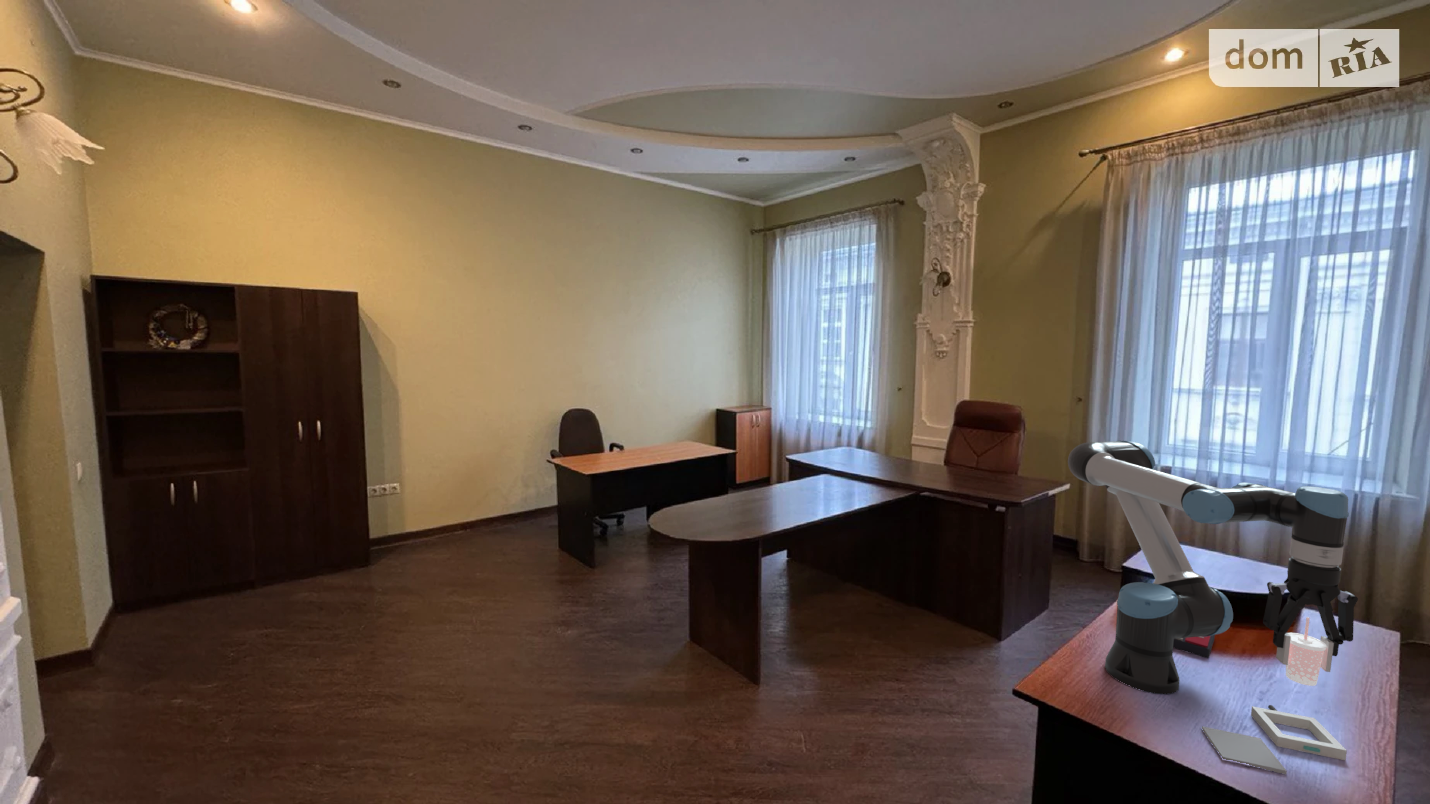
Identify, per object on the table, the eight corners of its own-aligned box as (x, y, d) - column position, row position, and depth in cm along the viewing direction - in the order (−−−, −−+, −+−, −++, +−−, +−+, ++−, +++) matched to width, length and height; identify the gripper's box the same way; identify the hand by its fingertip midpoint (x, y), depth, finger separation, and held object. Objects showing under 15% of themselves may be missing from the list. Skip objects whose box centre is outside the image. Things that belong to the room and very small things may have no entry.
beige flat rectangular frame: (1277, 747, 118) (1278, 737, 117) (1241, 703, 132) (1242, 694, 132) (1346, 761, 114) (1348, 751, 113) (1301, 714, 128) (1302, 705, 128)
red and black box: (1158, 632, 159) (1167, 612, 169) (1157, 646, 159) (1166, 625, 170) (1209, 647, 151) (1215, 625, 161) (1208, 661, 151) (1214, 639, 162)
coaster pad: (1222, 760, 114) (1222, 756, 114) (1201, 729, 123) (1201, 726, 123) (1286, 774, 110) (1286, 770, 110) (1260, 741, 119) (1260, 738, 119)
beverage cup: (1329, 690, 116) (1336, 626, 114) (1290, 684, 118) (1297, 621, 117) (1310, 674, 121) (1317, 613, 120) (1274, 668, 124) (1281, 608, 122)
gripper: (1265, 560, 117) (1254, 664, 120) (1390, 575, 110) (1376, 685, 112) (1247, 548, 124) (1237, 647, 126) (1364, 561, 117) (1351, 665, 119)
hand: (1302, 664), depth 119 cm, fingers closed on beverage cup, 6 cm apart
